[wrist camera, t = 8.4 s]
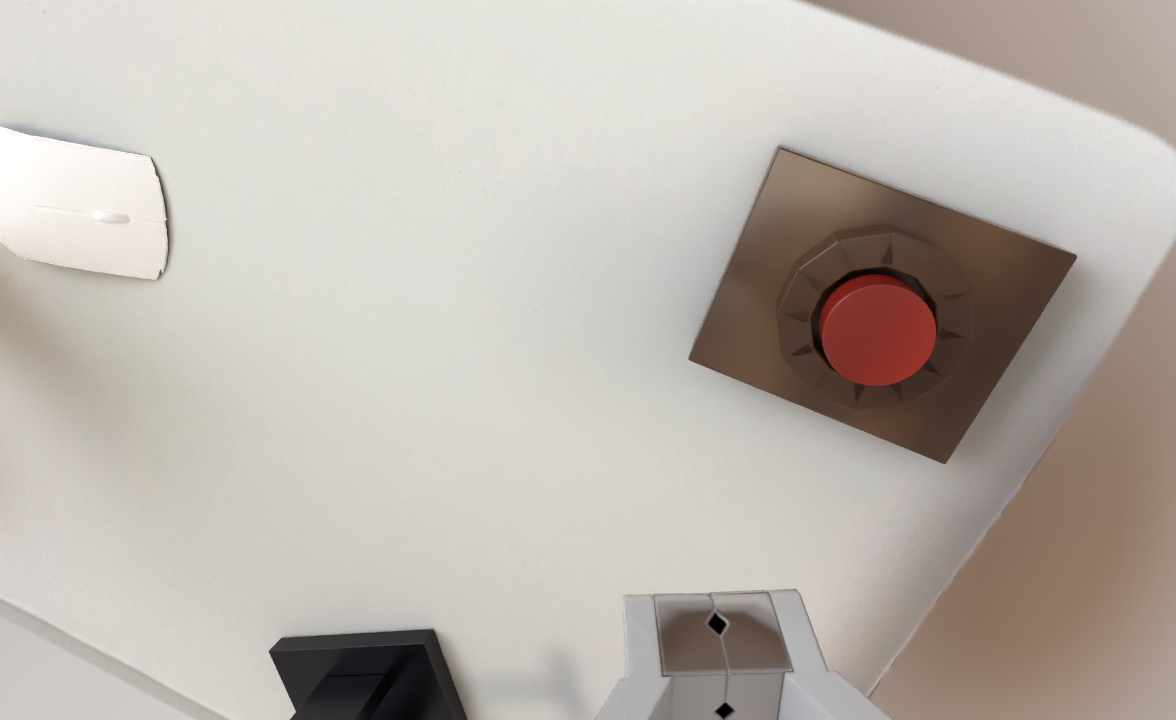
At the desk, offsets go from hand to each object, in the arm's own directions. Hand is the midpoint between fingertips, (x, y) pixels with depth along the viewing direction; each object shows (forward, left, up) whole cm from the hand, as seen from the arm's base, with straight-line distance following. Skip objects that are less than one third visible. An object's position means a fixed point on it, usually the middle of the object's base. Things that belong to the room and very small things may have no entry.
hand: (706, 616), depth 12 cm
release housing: (-1, -5, -19) cm, 20 cm away
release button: (-1, -5, -16) cm, 16 cm away
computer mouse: (+19, +29, -20) cm, 40 cm away
